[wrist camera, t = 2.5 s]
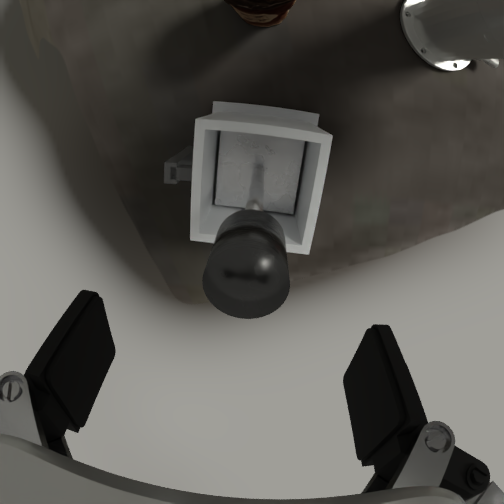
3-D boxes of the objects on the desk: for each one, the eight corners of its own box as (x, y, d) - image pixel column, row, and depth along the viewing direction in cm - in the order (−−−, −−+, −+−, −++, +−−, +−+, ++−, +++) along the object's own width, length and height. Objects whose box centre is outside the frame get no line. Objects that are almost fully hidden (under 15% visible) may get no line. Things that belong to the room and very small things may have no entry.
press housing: (318, 113, 33) (350, 124, 20) (302, 208, 40) (318, 267, 27) (198, 100, 33) (157, 103, 20) (192, 195, 40) (156, 247, 27)
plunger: (304, 136, 28) (368, 206, 10) (292, 211, 32) (317, 358, 14) (222, 126, 28) (145, 179, 10) (216, 201, 32) (158, 339, 14)
